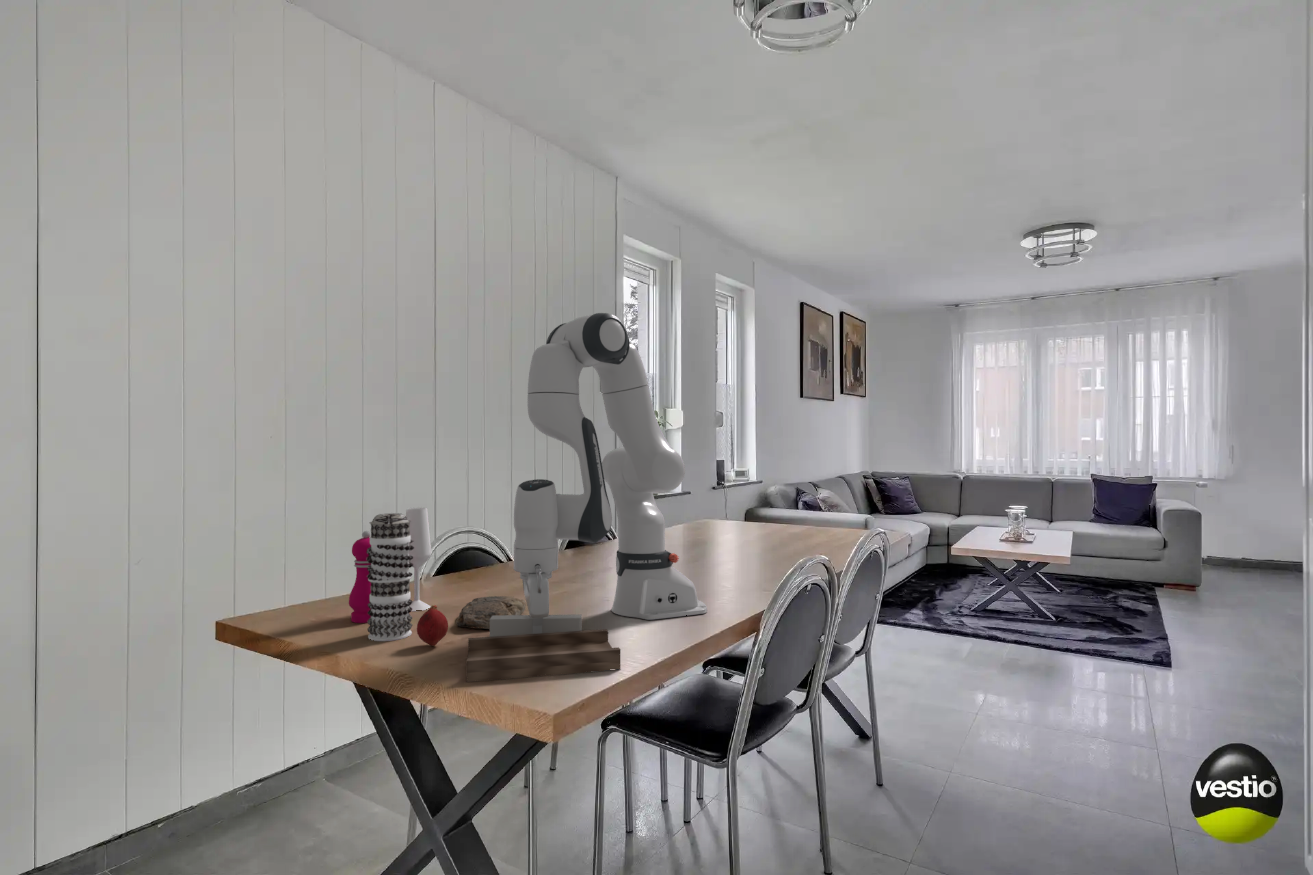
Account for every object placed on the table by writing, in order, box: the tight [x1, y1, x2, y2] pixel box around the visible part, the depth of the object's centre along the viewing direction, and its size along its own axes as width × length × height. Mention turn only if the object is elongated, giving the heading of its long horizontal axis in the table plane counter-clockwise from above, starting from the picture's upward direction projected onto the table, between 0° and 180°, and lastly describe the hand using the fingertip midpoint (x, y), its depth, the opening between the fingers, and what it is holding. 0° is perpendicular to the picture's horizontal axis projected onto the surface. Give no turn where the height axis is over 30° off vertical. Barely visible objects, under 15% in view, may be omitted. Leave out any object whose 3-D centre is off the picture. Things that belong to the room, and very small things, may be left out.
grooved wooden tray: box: [466, 628, 621, 683], centre depth 125 cm, size 26×14×4 cm, turn 104°
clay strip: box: [489, 613, 583, 637], centre depth 140 cm, size 18×3×5 cm, turn 93°
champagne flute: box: [405, 506, 432, 612], centre depth 168 cm, size 7×7×24 cm
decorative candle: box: [366, 512, 414, 642], centre depth 144 cm, size 9×9×25 cm
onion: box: [416, 604, 449, 647], centre depth 136 cm, size 6×6×8 cm
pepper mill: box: [348, 530, 371, 624], centre depth 157 cm, size 7×7×20 cm
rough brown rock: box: [455, 595, 527, 630], centre depth 156 cm, size 14×5×20 cm
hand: (535, 629), depth 140 cm, fingers open, 5 cm apart
